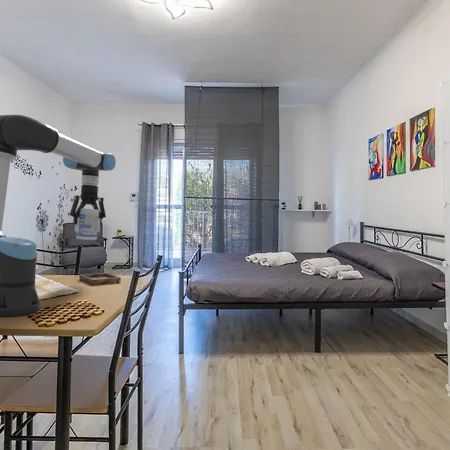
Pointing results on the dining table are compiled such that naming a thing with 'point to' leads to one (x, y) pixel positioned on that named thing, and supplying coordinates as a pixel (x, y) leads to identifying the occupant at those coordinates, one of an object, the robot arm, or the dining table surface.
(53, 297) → the dining table surface
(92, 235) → the supplement tub
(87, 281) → the well tray
